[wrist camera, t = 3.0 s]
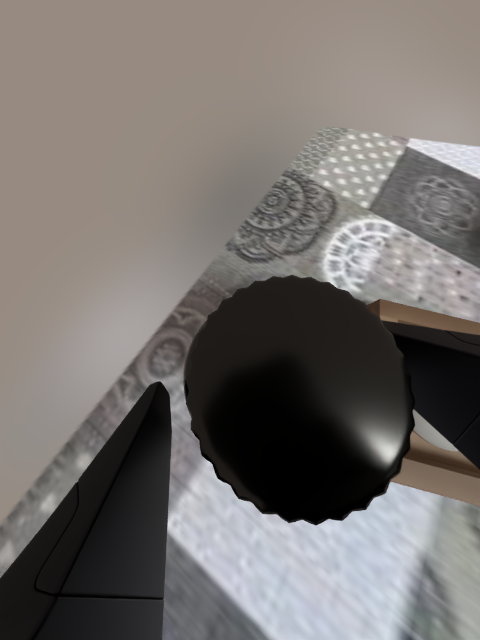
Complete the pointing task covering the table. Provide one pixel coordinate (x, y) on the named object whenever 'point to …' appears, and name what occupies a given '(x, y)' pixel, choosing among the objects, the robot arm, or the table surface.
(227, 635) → the table surface
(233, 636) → the table surface
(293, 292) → the supplement bottle
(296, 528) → the table surface
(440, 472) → the holder
